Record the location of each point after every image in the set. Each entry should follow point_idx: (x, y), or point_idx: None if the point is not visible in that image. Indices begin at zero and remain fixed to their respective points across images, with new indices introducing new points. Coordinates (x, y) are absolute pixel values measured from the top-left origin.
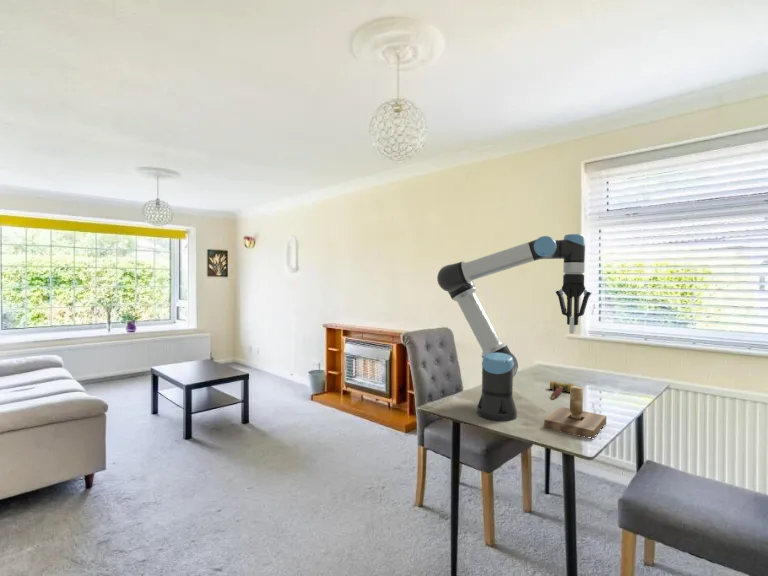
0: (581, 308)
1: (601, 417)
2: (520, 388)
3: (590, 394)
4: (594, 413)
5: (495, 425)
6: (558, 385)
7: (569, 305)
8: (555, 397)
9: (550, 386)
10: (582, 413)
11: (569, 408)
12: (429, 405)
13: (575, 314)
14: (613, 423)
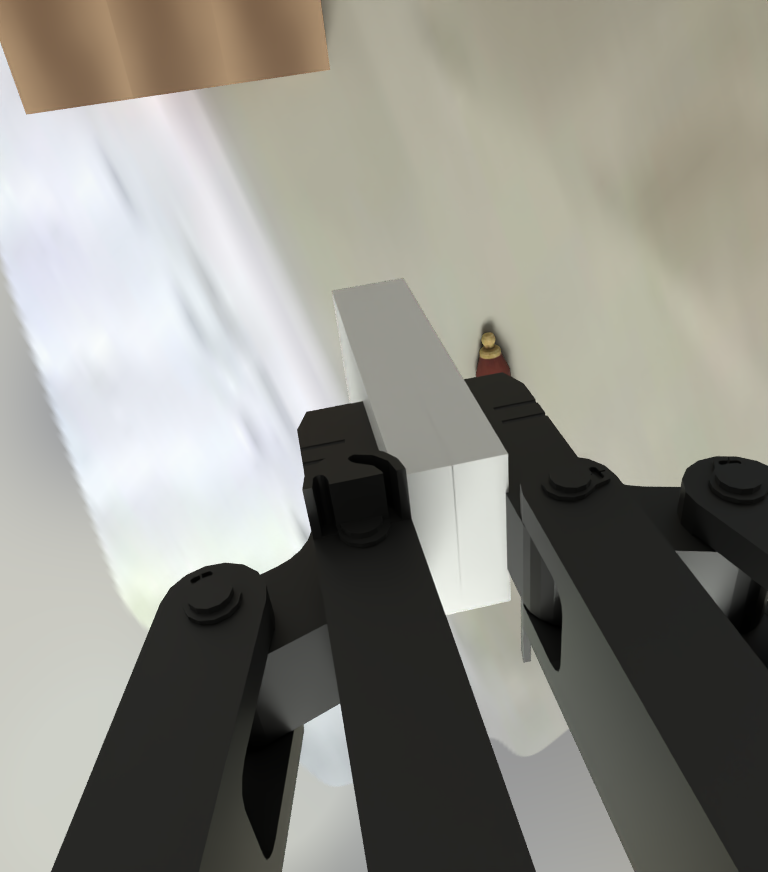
0: (168, 802)
1: (19, 38)
2: (699, 387)
3: None
4: (104, 102)
5: None
6: None
7: (727, 781)
8: (479, 359)
9: None
10: (153, 24)
11: (271, 74)
12: None
13: (368, 552)
14: (20, 158)
